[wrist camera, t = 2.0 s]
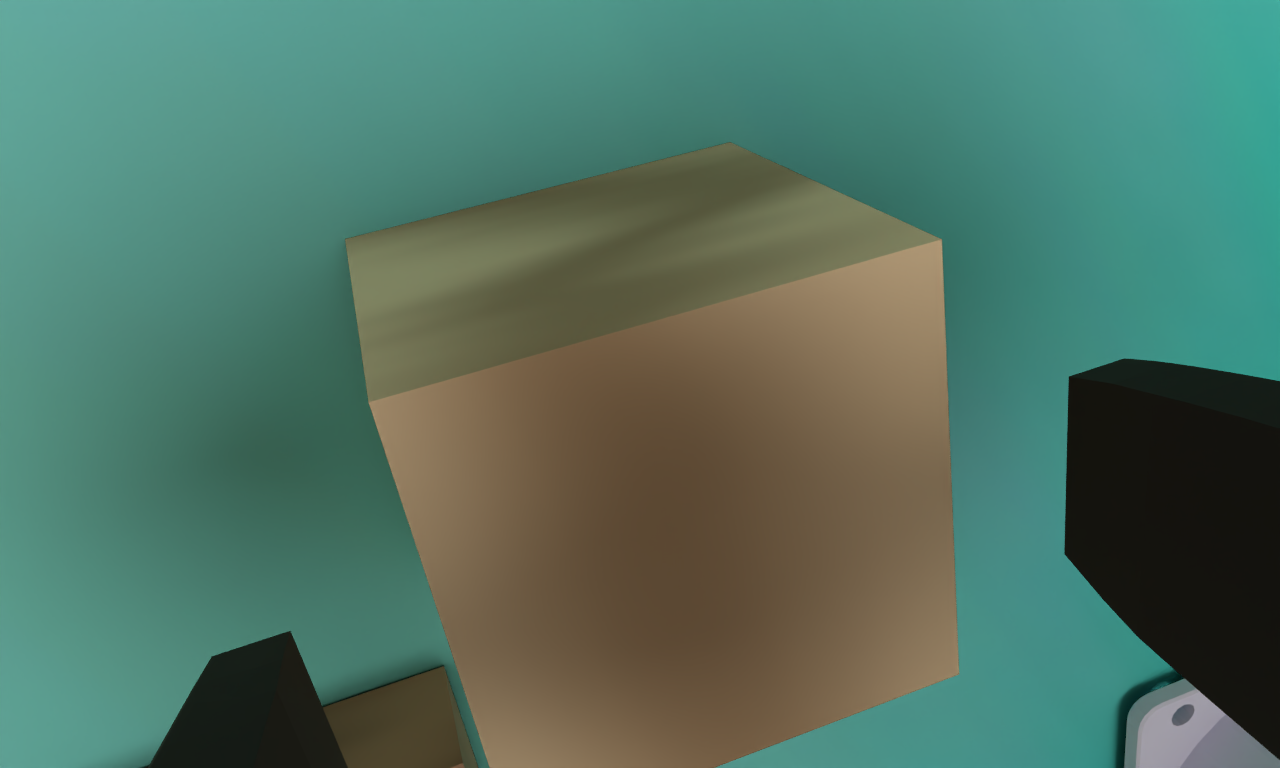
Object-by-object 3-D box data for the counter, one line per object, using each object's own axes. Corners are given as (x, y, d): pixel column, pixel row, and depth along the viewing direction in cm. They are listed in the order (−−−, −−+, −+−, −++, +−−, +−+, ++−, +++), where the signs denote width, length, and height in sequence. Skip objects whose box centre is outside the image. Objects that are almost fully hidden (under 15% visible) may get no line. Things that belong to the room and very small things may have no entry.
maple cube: (727, 141, 13) (941, 239, 9) (770, 466, 15) (958, 674, 11) (344, 237, 12) (369, 402, 8) (449, 569, 14) (514, 842, 10)
